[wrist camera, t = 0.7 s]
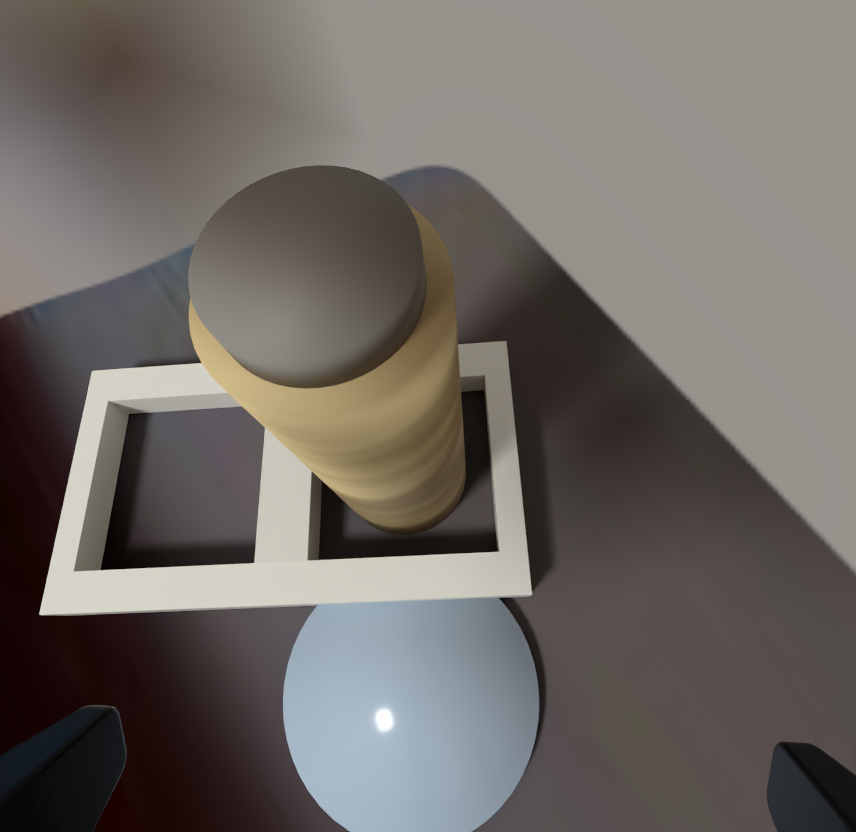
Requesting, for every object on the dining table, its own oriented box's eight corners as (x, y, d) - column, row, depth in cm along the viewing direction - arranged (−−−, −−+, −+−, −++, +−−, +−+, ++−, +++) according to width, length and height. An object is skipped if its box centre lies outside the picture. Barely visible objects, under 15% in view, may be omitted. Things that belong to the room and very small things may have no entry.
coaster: (499, 892, 17) (499, 898, 16) (246, 781, 18) (241, 785, 18) (564, 603, 20) (565, 603, 19) (340, 530, 21) (337, 529, 21)
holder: (528, 596, 20) (532, 594, 18) (68, 615, 21) (39, 614, 20) (504, 357, 24) (506, 340, 22) (113, 385, 25) (92, 370, 23)
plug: (444, 551, 21) (393, 429, 8) (327, 513, 22) (105, 347, 9) (480, 434, 22) (487, 171, 9) (369, 404, 23) (236, 125, 10)
